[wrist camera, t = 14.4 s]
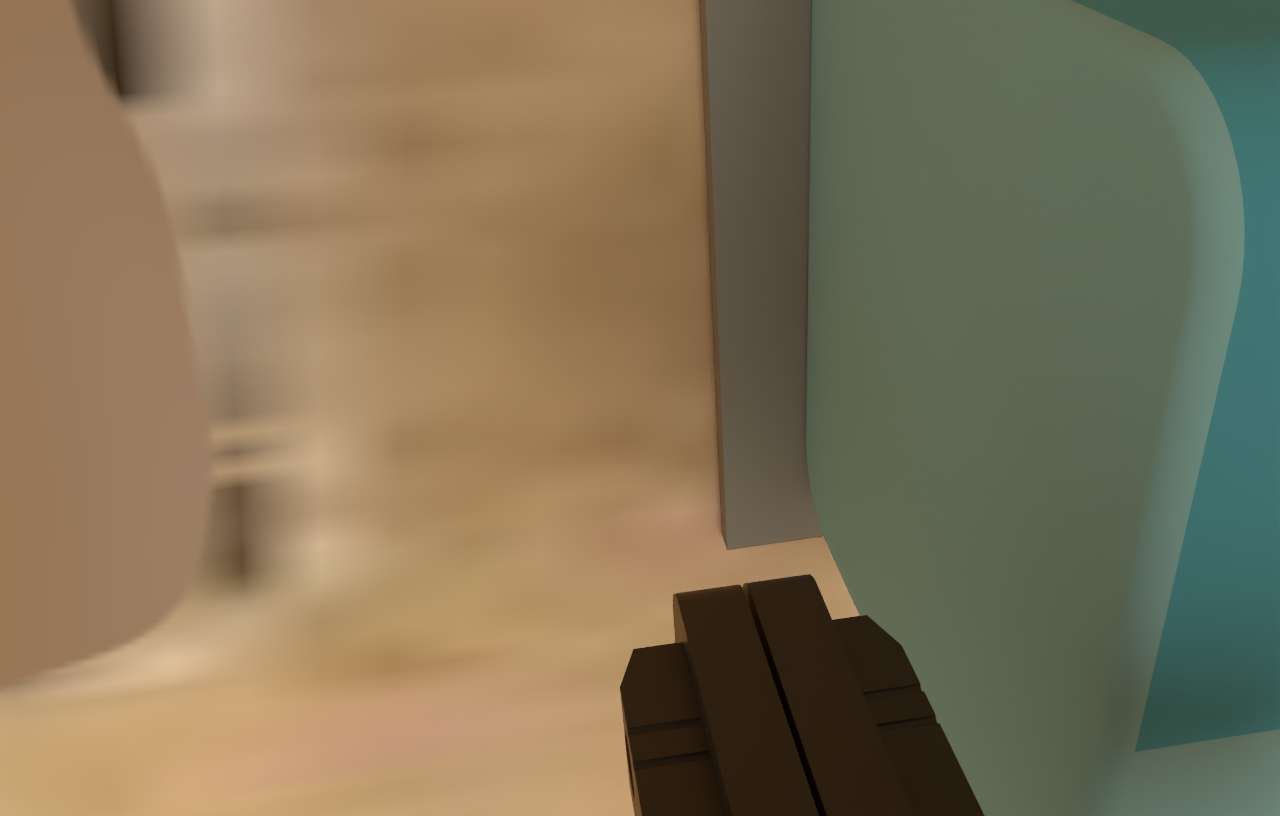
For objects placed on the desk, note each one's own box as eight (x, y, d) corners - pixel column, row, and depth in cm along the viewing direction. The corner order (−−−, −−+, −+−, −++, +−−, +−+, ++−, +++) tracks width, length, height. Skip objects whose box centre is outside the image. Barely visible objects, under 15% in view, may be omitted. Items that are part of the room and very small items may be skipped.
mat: (692, -161, 18) (699, -158, 18) (1818, -264, 20) (1854, -265, 20) (722, 534, 26) (727, 550, 25) (1547, 415, 27) (1567, 428, 27)
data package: (1003, 471, 25) (1381, 982, 15) (801, 498, 25) (1046, 1041, 14) (1077, -131, 19) (1812, 38, 9) (809, -107, 18) (1246, 98, 8)
